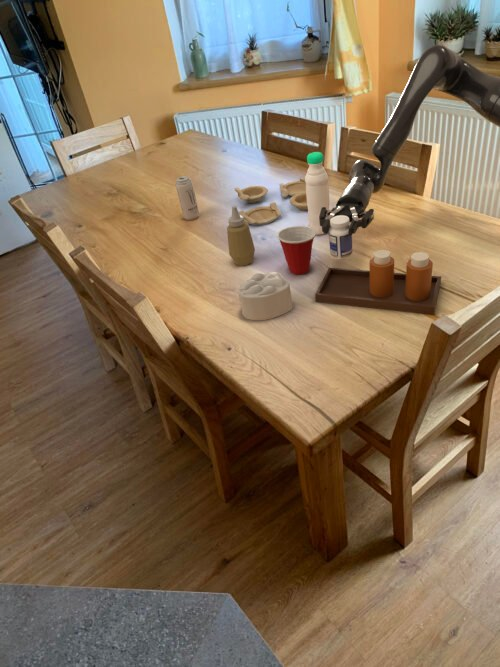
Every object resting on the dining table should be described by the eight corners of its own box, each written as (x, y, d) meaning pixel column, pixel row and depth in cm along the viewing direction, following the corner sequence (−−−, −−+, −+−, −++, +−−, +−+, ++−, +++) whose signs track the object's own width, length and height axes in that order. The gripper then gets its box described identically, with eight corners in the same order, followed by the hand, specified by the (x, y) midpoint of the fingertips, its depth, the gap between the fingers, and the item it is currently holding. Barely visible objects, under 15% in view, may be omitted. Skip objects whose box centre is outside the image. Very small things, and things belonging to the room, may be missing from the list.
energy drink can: (194, 221, 182) (184, 182, 172) (181, 220, 184) (170, 181, 175) (203, 214, 185) (194, 175, 176) (190, 213, 188) (180, 174, 179)
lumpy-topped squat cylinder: (296, 309, 129) (293, 281, 124) (250, 326, 127) (245, 298, 121) (279, 291, 137) (276, 264, 132) (236, 306, 135) (231, 279, 129)
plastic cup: (326, 266, 144) (323, 228, 137) (302, 283, 139) (298, 245, 131) (297, 256, 151) (294, 220, 143) (274, 272, 145) (268, 236, 138)
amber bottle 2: (431, 288, 126) (434, 250, 120) (428, 302, 122) (431, 263, 115) (407, 286, 129) (409, 249, 122) (403, 299, 125) (405, 261, 118)
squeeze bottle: (248, 269, 149) (239, 214, 138) (226, 266, 153) (214, 211, 142) (261, 256, 154) (252, 201, 143) (239, 253, 158) (229, 199, 147)
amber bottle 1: (395, 285, 130) (396, 248, 123) (391, 298, 126) (392, 260, 119) (372, 283, 132) (372, 246, 125) (367, 296, 128) (367, 259, 121)
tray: (440, 283, 129) (441, 276, 127) (433, 314, 119) (434, 307, 118) (329, 274, 140) (329, 267, 139) (315, 301, 131) (315, 294, 129)
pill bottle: (353, 248, 129) (352, 213, 123) (351, 260, 125) (350, 224, 119) (331, 249, 131) (329, 214, 125) (328, 260, 127) (326, 225, 120)
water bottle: (314, 224, 165) (308, 149, 150) (334, 226, 162) (330, 150, 147) (305, 234, 161) (298, 158, 146) (326, 236, 158) (321, 158, 142)
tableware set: (243, 231, 170) (241, 220, 167) (226, 200, 193) (224, 190, 190) (339, 206, 173) (339, 195, 171) (311, 179, 196) (311, 169, 194)
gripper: (327, 187, 133) (308, 216, 122) (381, 188, 128) (366, 218, 116) (328, 213, 138) (310, 243, 126) (381, 215, 132) (366, 246, 121)
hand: (337, 231), depth 121 cm, fingers closed on pill bottle, 5 cm apart
